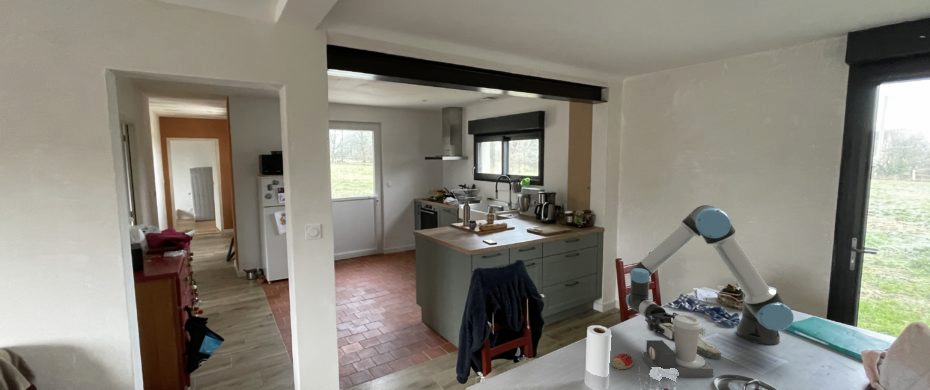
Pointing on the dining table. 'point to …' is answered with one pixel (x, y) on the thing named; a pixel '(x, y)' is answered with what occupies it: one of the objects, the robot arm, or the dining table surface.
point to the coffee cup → (686, 337)
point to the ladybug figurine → (622, 361)
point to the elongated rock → (699, 344)
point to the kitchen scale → (674, 360)
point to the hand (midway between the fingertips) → (688, 333)
